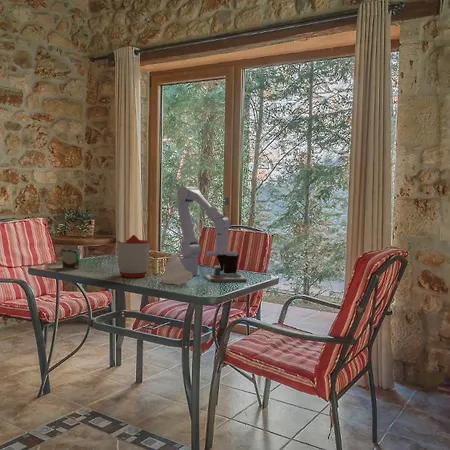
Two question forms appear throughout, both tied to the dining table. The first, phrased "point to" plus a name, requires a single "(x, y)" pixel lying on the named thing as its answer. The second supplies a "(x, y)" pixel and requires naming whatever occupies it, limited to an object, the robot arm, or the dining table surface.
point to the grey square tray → (228, 280)
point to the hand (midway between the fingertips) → (221, 270)
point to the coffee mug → (231, 264)
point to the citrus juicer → (133, 257)
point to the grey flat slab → (225, 276)
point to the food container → (70, 257)
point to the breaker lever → (217, 270)
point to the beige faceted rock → (175, 272)
